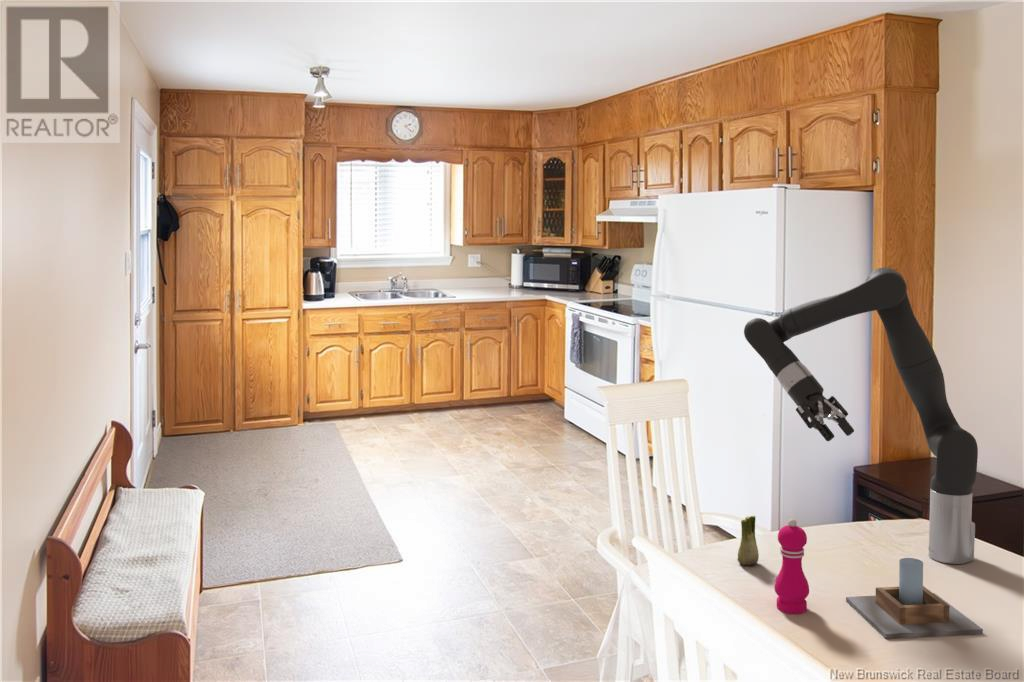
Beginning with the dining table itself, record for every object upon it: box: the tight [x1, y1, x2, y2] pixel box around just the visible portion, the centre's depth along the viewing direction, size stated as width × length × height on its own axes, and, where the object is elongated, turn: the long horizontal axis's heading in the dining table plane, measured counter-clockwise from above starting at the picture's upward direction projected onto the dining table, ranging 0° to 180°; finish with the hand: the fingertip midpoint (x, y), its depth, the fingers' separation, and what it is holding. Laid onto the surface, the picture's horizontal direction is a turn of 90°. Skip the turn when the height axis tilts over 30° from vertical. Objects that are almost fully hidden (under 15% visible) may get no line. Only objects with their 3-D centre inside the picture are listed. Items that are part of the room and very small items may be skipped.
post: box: [898, 557, 924, 605], centre depth 178 cm, size 4×4×11 cm
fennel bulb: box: [737, 515, 760, 567], centre depth 210 cm, size 6×5×12 cm
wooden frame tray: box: [845, 585, 984, 640], centre depth 179 cm, size 20×18×4 cm
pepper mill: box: [774, 518, 810, 615], centre depth 184 cm, size 7×7×20 cm
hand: (841, 436), depth 203 cm, fingers open, 8 cm apart
